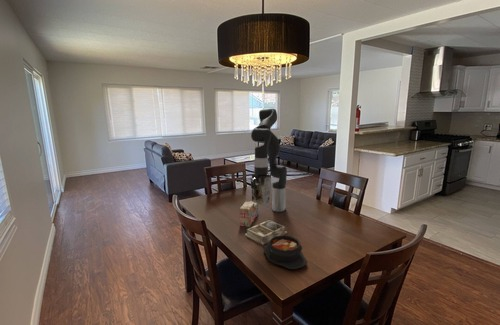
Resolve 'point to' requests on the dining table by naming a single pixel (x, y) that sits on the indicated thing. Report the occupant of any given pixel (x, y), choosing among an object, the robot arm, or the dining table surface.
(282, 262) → the casserole
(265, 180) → the coffee box
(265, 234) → the caddy
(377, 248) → the dining table surface
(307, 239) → the dining table surface
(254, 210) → the stack of blocks
